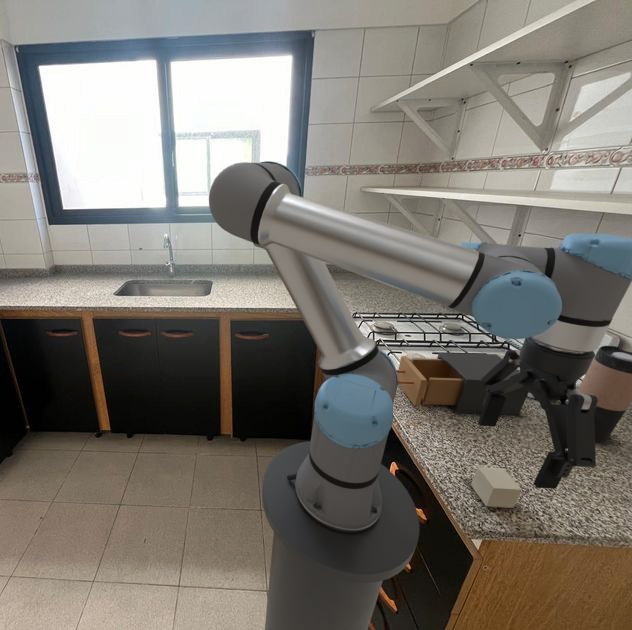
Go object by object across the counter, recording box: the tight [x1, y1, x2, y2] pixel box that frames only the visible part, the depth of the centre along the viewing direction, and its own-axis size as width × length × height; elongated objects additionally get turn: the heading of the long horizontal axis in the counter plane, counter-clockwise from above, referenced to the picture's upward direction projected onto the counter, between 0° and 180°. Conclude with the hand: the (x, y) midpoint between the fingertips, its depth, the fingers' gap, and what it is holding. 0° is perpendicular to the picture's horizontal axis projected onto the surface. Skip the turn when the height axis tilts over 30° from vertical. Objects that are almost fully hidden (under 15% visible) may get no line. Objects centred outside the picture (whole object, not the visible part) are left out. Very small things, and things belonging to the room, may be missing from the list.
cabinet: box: [436, 352, 529, 416], centre depth 88 cm, size 15×13×10 cm
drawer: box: [396, 355, 464, 407], centre depth 89 cm, size 18×11×8 cm, turn 86°
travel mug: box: [576, 345, 632, 443], centre depth 74 cm, size 8×8×20 cm
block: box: [470, 466, 523, 509], centre depth 62 cm, size 5×5×5 cm
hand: (512, 452), depth 59 cm, fingers open, 13 cm apart
